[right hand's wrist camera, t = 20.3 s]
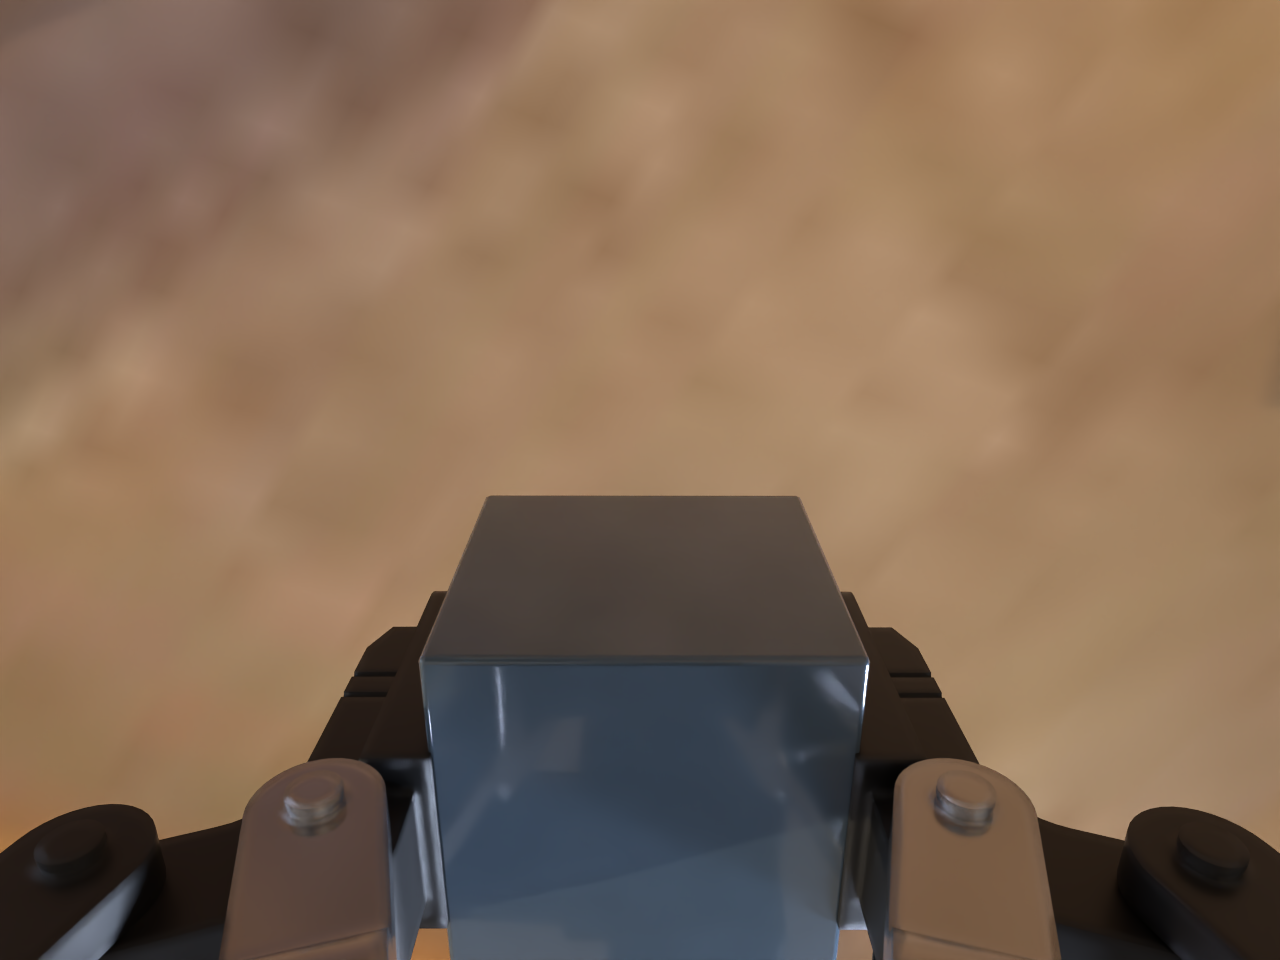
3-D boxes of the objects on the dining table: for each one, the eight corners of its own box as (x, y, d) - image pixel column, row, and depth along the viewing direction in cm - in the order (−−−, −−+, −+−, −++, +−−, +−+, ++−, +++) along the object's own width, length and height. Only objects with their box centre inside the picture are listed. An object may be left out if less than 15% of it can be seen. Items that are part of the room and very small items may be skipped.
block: (781, 760, 14) (834, 1000, 10) (503, 760, 14) (451, 1000, 10) (800, 493, 12) (873, 660, 8) (485, 493, 12) (415, 659, 8)
